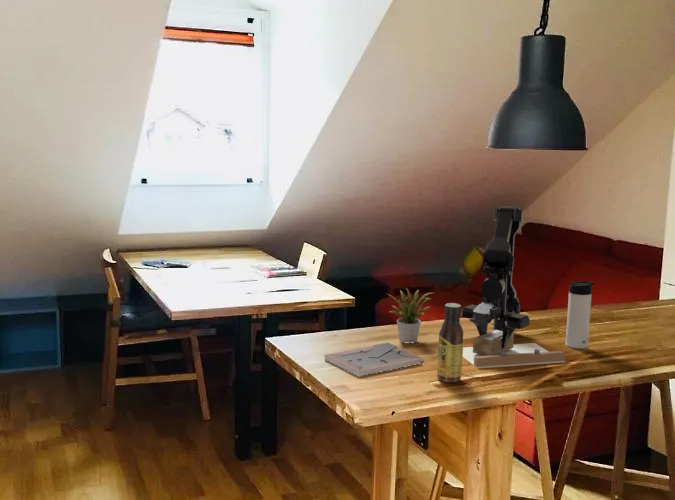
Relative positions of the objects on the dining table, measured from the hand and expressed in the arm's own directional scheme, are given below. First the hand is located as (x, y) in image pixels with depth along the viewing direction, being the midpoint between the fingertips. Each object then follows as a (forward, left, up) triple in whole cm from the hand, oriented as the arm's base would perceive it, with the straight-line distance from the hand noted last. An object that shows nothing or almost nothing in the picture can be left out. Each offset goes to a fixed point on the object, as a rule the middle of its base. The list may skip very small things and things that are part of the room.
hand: (493, 345), depth 220 cm
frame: (0, 0, -1) cm, 1 cm away
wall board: (+3, +3, -3) cm, 5 cm away
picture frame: (-1, -35, -4) cm, 35 cm away
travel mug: (-1, +27, -3) cm, 27 cm away
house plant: (-17, -18, -3) cm, 25 cm away
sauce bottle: (+17, -20, -3) cm, 26 cm away
